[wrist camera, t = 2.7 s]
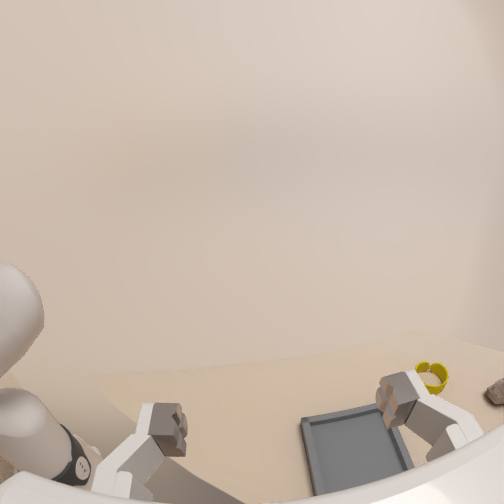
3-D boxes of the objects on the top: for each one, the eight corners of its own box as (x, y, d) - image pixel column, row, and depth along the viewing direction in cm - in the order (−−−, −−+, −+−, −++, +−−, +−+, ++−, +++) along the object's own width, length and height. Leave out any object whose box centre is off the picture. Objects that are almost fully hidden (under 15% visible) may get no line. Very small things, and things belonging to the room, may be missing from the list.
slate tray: (321, 533, 27) (324, 530, 26) (300, 424, 47) (301, 417, 46) (420, 503, 27) (426, 498, 26) (382, 408, 47) (385, 400, 46)
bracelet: (444, 397, 46) (450, 387, 44) (409, 395, 49) (414, 385, 47) (442, 372, 52) (447, 362, 50) (410, 370, 55) (414, 359, 53)
